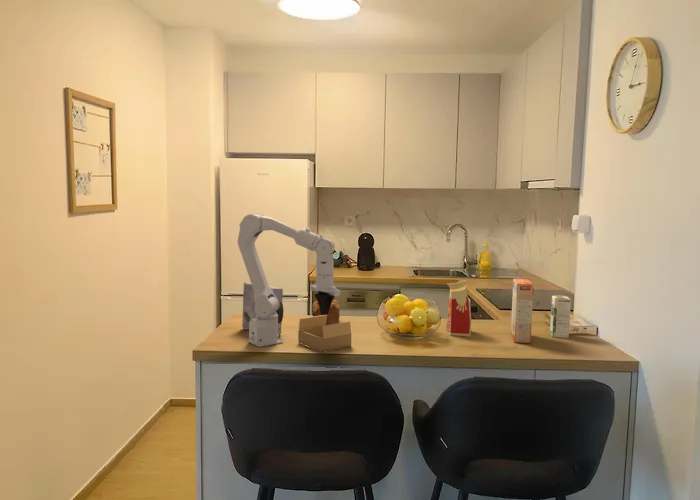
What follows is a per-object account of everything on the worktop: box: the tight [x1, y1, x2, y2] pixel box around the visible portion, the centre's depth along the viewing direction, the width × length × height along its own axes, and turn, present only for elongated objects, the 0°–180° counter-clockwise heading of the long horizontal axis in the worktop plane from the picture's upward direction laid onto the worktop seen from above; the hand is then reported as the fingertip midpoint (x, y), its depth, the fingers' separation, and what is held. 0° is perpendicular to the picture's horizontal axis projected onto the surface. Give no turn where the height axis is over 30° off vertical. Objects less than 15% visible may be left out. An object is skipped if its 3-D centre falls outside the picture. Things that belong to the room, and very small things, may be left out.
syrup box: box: [549, 295, 572, 339], centre depth 201 cm, size 6×6×14 cm
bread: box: [311, 299, 341, 325], centre depth 215 cm, size 19×11×10 cm, turn 3°
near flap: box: [322, 321, 352, 339], centre depth 180 cm, size 11×4×1 cm
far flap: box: [298, 315, 327, 330], centre depth 190 cm, size 11×4×1 cm
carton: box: [297, 326, 352, 353], centre depth 185 cm, size 12×14×4 cm
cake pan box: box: [241, 281, 284, 335], centre depth 201 cm, size 19×5×18 cm, turn 46°
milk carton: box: [445, 279, 472, 337], centre depth 204 cm, size 9×9×20 cm
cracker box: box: [510, 278, 535, 344], centre depth 196 cm, size 14×6×21 cm, turn 168°
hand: (324, 314), depth 185 cm, fingers closed
